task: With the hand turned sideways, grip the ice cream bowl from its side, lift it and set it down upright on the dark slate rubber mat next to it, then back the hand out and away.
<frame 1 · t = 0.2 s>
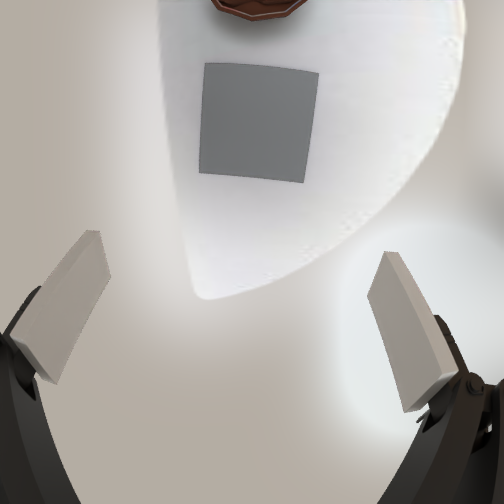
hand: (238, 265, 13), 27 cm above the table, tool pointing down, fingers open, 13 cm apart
ice cream bowl: (260, 1, 25), on the table
slate mat: (256, 121, 34), on the table
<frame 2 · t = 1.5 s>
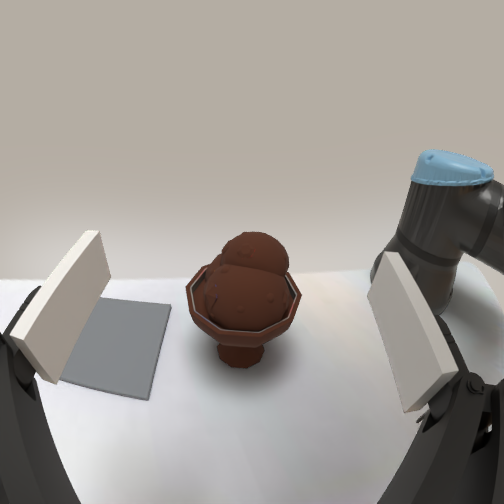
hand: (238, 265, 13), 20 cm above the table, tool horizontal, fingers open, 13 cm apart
ice cream bowl: (240, 350, 33), on the table
slate mat: (105, 341, 31), on the table
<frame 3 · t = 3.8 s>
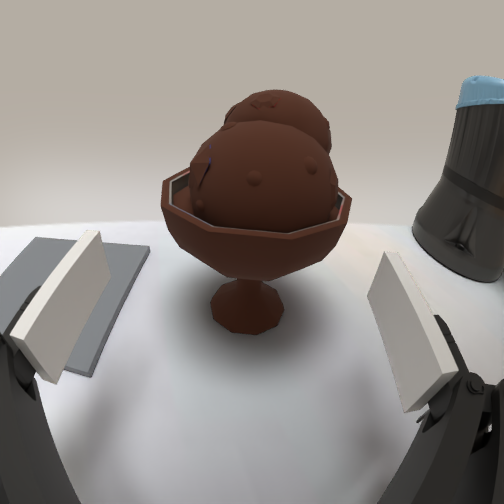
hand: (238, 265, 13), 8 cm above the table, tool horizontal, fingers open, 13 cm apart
ice cream bowl: (246, 308, 22), on the table
slate mat: (52, 290, 20), on the table
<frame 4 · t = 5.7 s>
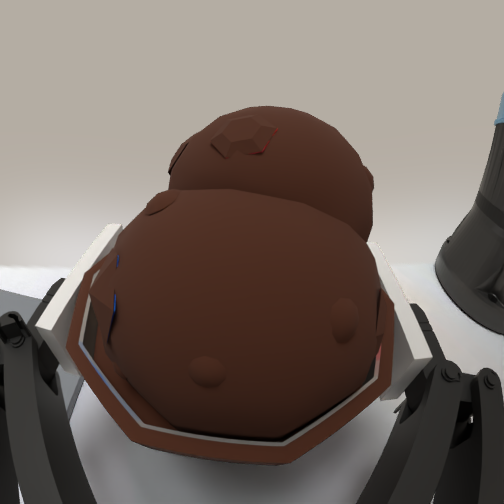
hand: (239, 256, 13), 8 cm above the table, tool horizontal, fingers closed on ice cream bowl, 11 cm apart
ice cream bowl: (230, 412, 15), on the table, touching gripper
slate mat: (2, 366, 13), on the table
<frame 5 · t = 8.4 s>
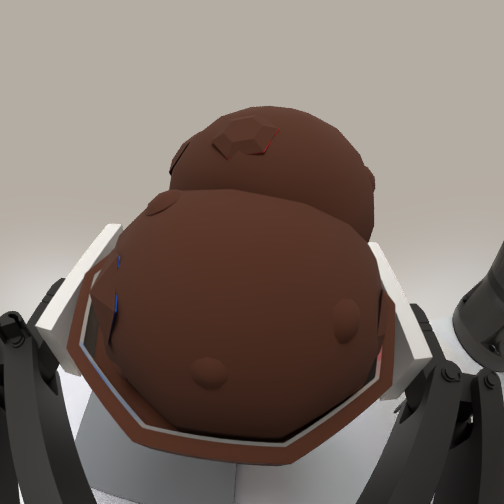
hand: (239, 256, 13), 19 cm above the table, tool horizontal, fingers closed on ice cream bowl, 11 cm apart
ice cream bowl: (230, 413, 15), point 10 cm above the table, touching gripper
slate mat: (155, 438, 21), on the table
when the fingers open (10 cm above the table, at t = 11.1 s): ice cream bowl drops 1 cm, resting on slate mat.
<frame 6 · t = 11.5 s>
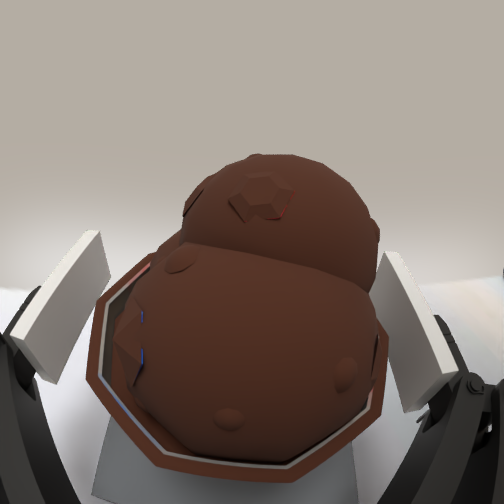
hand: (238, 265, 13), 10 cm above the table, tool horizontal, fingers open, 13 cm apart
ice cream bowl: (230, 422, 15), point 1 cm above the table, touching slate mat
slate mat: (230, 423, 16), on the table
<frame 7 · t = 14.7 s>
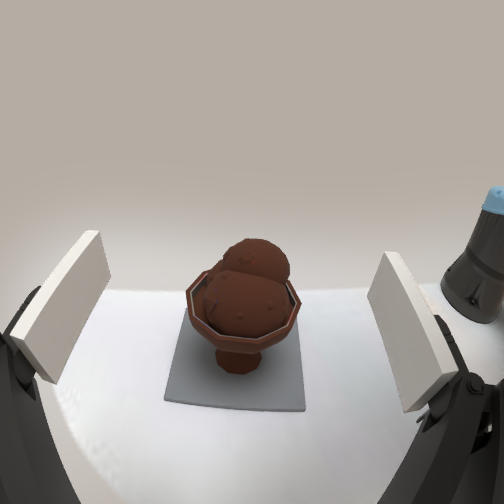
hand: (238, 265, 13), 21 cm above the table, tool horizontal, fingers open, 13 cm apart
ice cream bowl: (238, 356, 33), resting on slate mat
slate mat: (238, 357, 33), on the table
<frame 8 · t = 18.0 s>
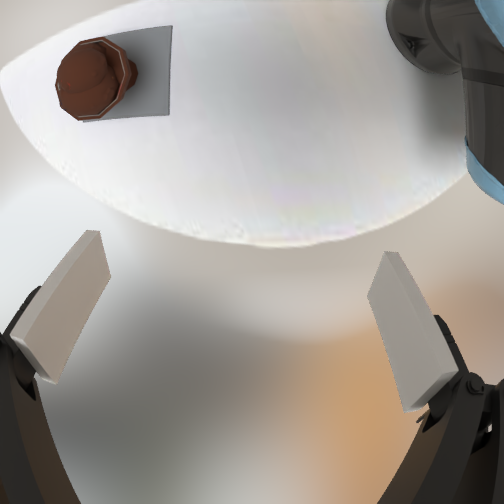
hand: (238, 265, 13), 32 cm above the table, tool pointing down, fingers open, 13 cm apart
ice cream bowl: (122, 75, 33), resting on slate mat
slate mat: (123, 74, 33), on the table
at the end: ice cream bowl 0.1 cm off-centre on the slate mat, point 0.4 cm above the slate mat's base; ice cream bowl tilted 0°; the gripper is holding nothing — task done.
